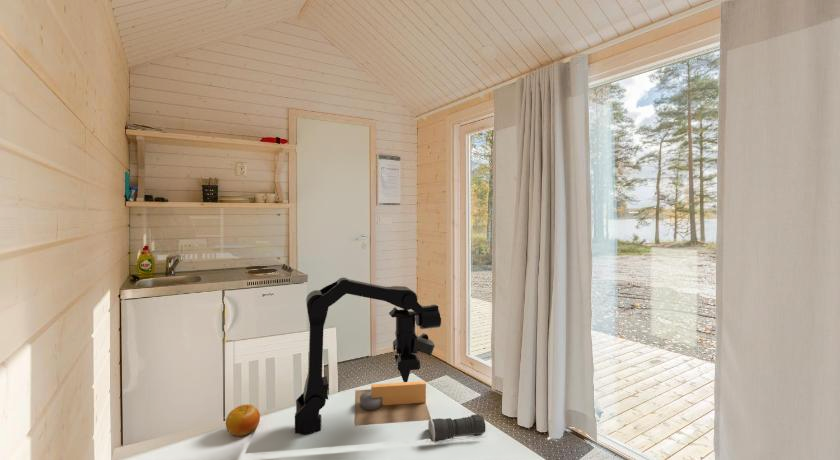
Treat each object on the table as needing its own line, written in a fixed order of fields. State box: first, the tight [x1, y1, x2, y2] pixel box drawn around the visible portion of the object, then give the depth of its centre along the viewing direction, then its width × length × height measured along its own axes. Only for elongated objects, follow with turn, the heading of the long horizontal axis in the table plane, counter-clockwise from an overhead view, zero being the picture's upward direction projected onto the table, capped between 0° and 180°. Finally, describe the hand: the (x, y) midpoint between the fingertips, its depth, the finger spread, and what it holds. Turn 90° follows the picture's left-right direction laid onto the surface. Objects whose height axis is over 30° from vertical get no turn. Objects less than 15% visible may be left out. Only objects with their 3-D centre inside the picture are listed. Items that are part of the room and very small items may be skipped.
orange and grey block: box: [360, 380, 427, 410], centre depth 126 cm, size 20×7×6 cm, turn 98°
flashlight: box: [427, 413, 486, 443], centre depth 112 cm, size 15×5×5 cm, turn 104°
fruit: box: [225, 404, 261, 437], centre depth 113 cm, size 9×9×8 cm
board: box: [354, 388, 432, 426], centre depth 126 cm, size 22×22×2 cm
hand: (405, 381), depth 120 cm, fingers closed
